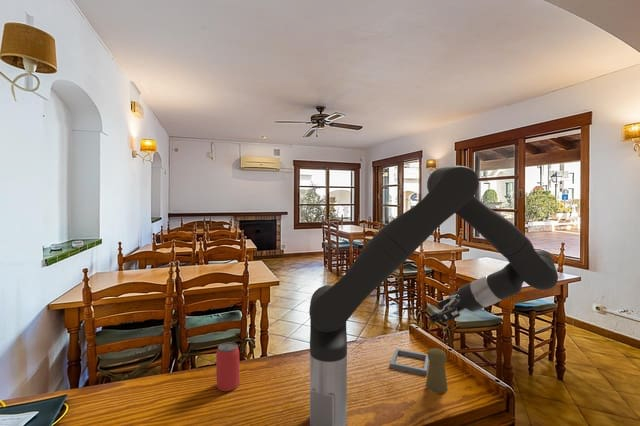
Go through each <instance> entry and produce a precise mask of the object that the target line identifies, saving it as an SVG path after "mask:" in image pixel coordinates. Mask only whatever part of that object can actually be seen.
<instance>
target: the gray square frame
mask: <svg viewBox="0 0 640 426" xmlns="http://www.w3.org/2000/svg"><path fill="white" fill-rule="evenodd" d="M398 356H406V357H409V358H416V359H421V360H424V364H423V365H424V366H423V368H422V367H417V366H413V365H408V364H407V365H406V364H402V363H398V362H397V359H398ZM391 357H392V358H391V360H390V363H389V368H390V369H393V370H399V371H404V372H408V373H412V374H418V375H421V376H422V375H423V376H427V375H428V368H429V362H430V360H429V359H428V353H423V352H417V351H412V350H405V349H401V348H400V349H399V348H395V350H394V352H393V354H392V356H391Z"/></svg>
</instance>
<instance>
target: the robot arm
mask: <svg viewBox="0 0 640 426" xmlns="http://www.w3.org/2000/svg"><path fill="white" fill-rule="evenodd" d="M479 184H480V183H479V177H478V174H477V173H476V171H474V170H473V169H472V168H470V167H468V166H464V165H452V166H444V167H440V168H437V169H435V170H434V171H433V172H431V173H430V175H429V176H428V179H427V183H426V188H427V192H428V193H427V194H425V196H424V197H423V198H422V199H421V200H420V201H419V202H418V203H417V204H415V205H414V206H412V207H411V208H410V209H408V210H407V211H404V212H403V213H401V214H400V215H398V216H397V217H395V218H393V219H392V220H391V221H390V222H388V223H386V224H385V225H383V227H382V228H380V230H378V231H377V233H376V234H374V235H373V237H372V238H371V239H370V240H369V241H368V242H367V243H366V245H365V246H363V248H362V250H361V251H360V253H359V254H358V256H356V257H355V260H354V262H353V263H352V265H351V266H350V268H349V269H348V270H347V272H346V273H345V274H344V275H343V276H342V277H341V278H339V280H337V281H336V282H335V283H334V284H333V285H330V284H329V285H323V286H321V287H318V288H317V289H316V290H314V292H313V293H312V295H311V298H310V303H309V308H308V309H309V310H308V313H309V319H310V321H309V322H310V323H309V324H310V333H309V426H347V423H348V335H347V321H348V320H349V319H350V318H351V317H352V316H353V314H354V313H355V311H356V310H357V309H358V308H359V307H360V305H361V304H362V303H363V302H364V301H365V300H366V299H367V297H368V296H369V295H371V293H372V292H373V291H375V290H376V289H377V288H378V287H379V286H380V285H382V283H384V281H385V280H387V279H388V278H389V277H390V276H391V275H392V274H394V272H396V270H397V269H398V268H400V266H402V265H403V264H404V263H405V261H407V260H408V259H409V258H410V257H411V256H412V255H413V253H415V251H416V250H417V249H418V248H419V247H420V246H422V244H424V242H425V241H426V240H427V239H428V238H429V237H430V236H432V234H433V233H434V232H435V231H436V230H437V229H438V228H439V227H440V226H441V225H442V224H443V223H444V222H446V220H448V219H449V218H450V217H452V216H453V215H454V214H456V215H457V216H458V217H459V218H461V220H464V222H466V223H467V224H468V225H469V226H471V227H472V228H473V229H474V230H475V231H476V232H477V233H479V235H480V236H482V237H483V238H484V239H485V240H486V241H487V242H488V243H489V244H490V245H491V246H492V247H493V248H494V249H496V251H498V252H499V254H501V256H503V257H504V258H505V259H506V260H507V261H508V263H507V264H506V265H505V266H504V267H503V268H501V269H500V270H497V271H494V272H493V273H491V274H489V275H486V276H483V277H480V278H477V279H475V280H473V281H471V282H469V283H466V284H464V285H462V286H460V287H459V288H458V290H457V291H454V292H451V293H450V294H449V296H447V297H446V298H445V299H443V300H441V301H440V300H439V302H437V307H439V309H440V310H439V311H437V312H435V313H433V314H430V315H429V316H428V319H429V320H430V322H431V324H432V323H433V324H435V323H436V322H440V321H441V323H442V324H444V323H447V322H449V321H451V320H454V319H456V318H459V317H461V312H463V311H464V310H465V309H466V310H468V311H469V312H476V311H478V310H479V311H480V310H481V309H485V308H487V307H489V306H492V305H495V304H497V303H498V302H501V301H502V300H505V299H508V298H510V297H512V296H515V295H517V294H519V293H520V292H521V291H522V287H523V284H524V283H525V284H527V285H528V286H529V287H532V288H534V289H537V290H539V291H540V290H542V291H547V290H550V289H553V288H554V287H555V286H556V285H557V283H558V282H559V274H558V271H557V268H556V264H555V263H554V258H553V257H552V255H551V254H550V253H548V252H547V251H545V250H542V249H535V248H534V246H533V243H532V242H531V240H530V238H528V237H527V236H526V235H525V234H524V233H523V232H522V230H520V229H519V228H518V227H517V226H516V225H515V224H514V223H512V222H511V221H510V220H509V219H507V218H506V217H504V216H502V215H501V214H499V213H498V212H496V211H494V210H493V209H492V208H490V207H489V206H487V205H486V204H485V203H483V202H482V201H480V200H479V198H478V197H476V196H475V195H476V194H477V191H478V189H479Z"/></svg>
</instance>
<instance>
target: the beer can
mask: <svg viewBox="0 0 640 426" xmlns="http://www.w3.org/2000/svg"><path fill="white" fill-rule="evenodd" d="M215 355H216V356H215V357H216V358H215V360H216V361H215V365H216V371H215V372H216V375H215V376H216V388H217V390H219V391H221V392H231V391H233V390H235V389H237V388H238V386H239V385H240V350H239V346H238V344H237V342H234V341H233V342H232V341H231V342H230V341H228V342H223V343H221V344H220V345H218V346H217V351H216V354H215Z"/></svg>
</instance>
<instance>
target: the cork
mask: <svg viewBox="0 0 640 426" xmlns="http://www.w3.org/2000/svg"><path fill="white" fill-rule="evenodd" d="M427 354H428V359H429V364H428V370H427V377H426V382H425V387H426V388H427V389H428V390H429V391H430V392H433V393H436V394H445V393H447V392H448V382H447V381H448V380H447V373H446V366H445V363H446V361H447V354H446V352H445V351H444V350H443V349H440V348H436V347H435V348H434V347H433V348H430V349H429V350H428V351H427Z"/></svg>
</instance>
